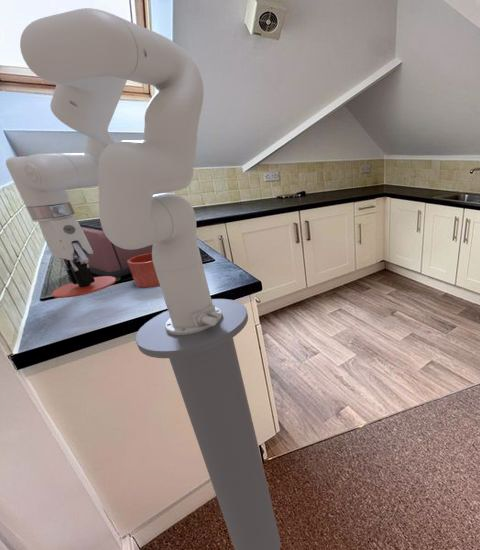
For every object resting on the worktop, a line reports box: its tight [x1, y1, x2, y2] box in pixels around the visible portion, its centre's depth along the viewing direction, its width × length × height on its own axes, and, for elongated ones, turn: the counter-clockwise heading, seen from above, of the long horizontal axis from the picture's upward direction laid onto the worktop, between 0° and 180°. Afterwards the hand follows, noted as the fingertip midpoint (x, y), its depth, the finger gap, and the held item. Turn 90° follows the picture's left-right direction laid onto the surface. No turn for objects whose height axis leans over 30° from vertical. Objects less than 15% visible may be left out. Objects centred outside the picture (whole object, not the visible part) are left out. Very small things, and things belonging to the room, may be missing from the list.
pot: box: [127, 253, 160, 288], centre depth 102 cm, size 12×12×8 cm
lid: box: [51, 266, 117, 299], centre depth 77 cm, size 13×13×7 cm
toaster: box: [78, 218, 153, 282], centre depth 120 cm, size 31×36×18 cm
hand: (84, 282), depth 77 cm, fingers closed on lid, 2 cm apart
